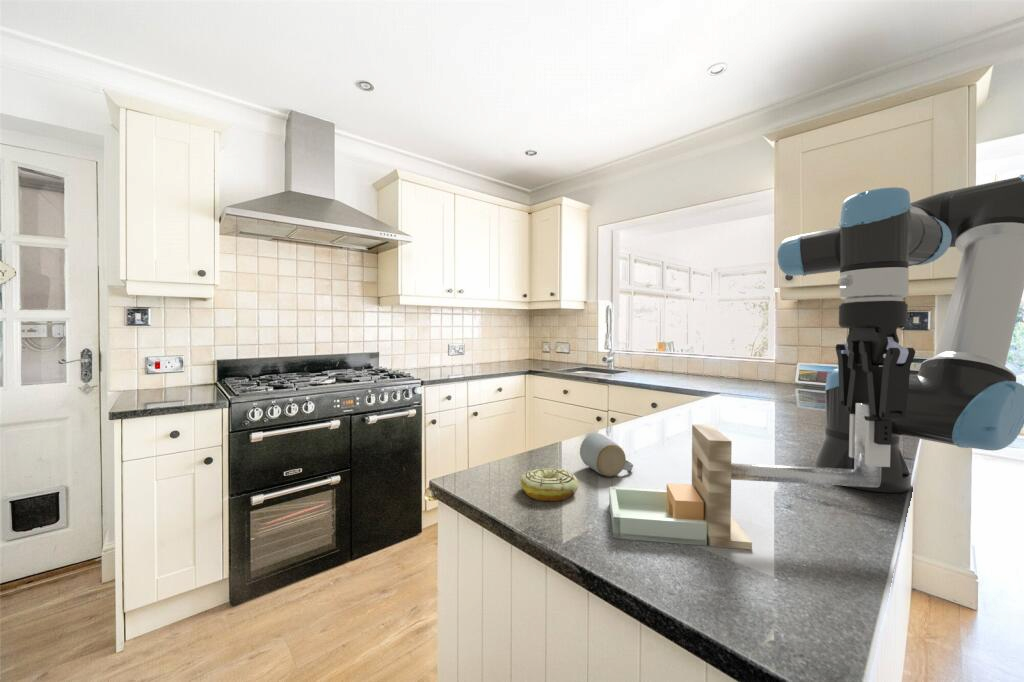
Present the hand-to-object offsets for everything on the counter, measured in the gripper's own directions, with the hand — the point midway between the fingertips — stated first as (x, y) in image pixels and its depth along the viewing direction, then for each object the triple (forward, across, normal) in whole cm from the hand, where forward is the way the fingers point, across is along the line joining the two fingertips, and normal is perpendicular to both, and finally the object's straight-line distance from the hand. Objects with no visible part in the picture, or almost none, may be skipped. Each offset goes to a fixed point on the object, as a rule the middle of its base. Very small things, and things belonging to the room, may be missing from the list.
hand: (868, 461), depth 61 cm
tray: (+12, 0, -30) cm, 32 cm away
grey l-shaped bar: (+4, 0, -10) cm, 11 cm away
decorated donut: (+12, -10, -48) cm, 50 cm away
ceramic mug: (+12, -24, -36) cm, 45 cm away
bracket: (+12, 0, -20) cm, 23 cm away
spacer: (+11, 0, -26) cm, 28 cm away
